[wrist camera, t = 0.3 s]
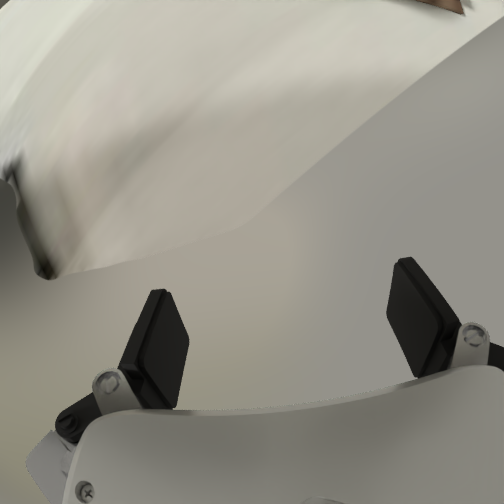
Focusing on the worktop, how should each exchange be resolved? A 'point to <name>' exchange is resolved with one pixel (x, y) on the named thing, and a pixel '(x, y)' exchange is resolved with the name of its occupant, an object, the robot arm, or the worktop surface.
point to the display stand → (446, 4)
